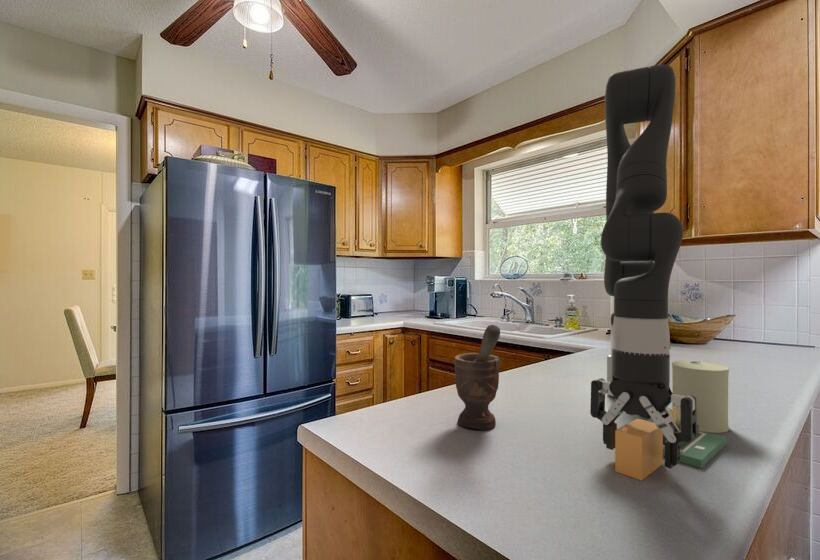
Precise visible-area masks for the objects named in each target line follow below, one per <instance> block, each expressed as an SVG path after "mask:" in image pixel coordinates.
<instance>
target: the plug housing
mask: <svg viewBox="0 0 820 560" xmlns="http://www.w3.org/2000/svg"><path fill="white" fill-rule="evenodd" d="M614 449H615V453H614V454H615V457H614V458H615V459H614V461H615V462H614V464H615V465H614V466H615V469H614V471H615V472H617V473H619V474H622V475H624V476H628V477H631V478H632V479H636V480H638V481H639V480H640V481H643V480H645V478H647V477H649V476H650V475H651V474H652V473H654V472H655V471H656V470H657V469H658V468H659V467H661V466H662V465H663V464H664V463H663V461H664V460H663V459H664V457H663V432H662V431H661V429H660V428H658V427H657V426H656V424H655V423H653V422H649V421H647V420H646V419H645V420H644V419H641V418H636V419H634V420H633V421H630V422H628V423H626V424H625V425H623V426H621V427H619V428H617V430H615V448H614Z"/></svg>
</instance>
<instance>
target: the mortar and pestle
mask: <svg viewBox="0 0 820 560" xmlns="http://www.w3.org/2000/svg"><path fill="white" fill-rule="evenodd" d="M500 336H501V329H500V327H499V326H497V325H494V324H489V325H488V326H487V327H486V328H485V329H484V333H483V335H482V339H481V343H480V348H479V351H478V352H469V353H467V352H466V353H459V354H457V355H455V357H454V381H455V388H456V391H457V396H458V397H459V399H460V400H461V401H462V403H464V408H463V410H462V411H461V412H460V413H459V415H458V418H457V422H456V423H457V424H458V425H459V426H461V427H463V428H467V429H472V430H473V429H474V430H480V431H481V430H482V431H488V430H492V429H494V428H495V427H496V424H497V423H496V422H497V420H496V417H495V414H494V413H492V412H491V411H490V410H489V405H490V404H491V402H492V401H494V400H495V399H496V395H497V392H498V390H499V383H500V382H499V381H500V376H499V375H500V373H499V372H500V364H501V363H500V360H501V359H500V357H499V356H498V355H493V354H492V352H493V350H494V349H495V346H496V345H497V343H498V341H499V339H500Z"/></svg>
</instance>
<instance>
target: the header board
mask: <svg viewBox="0 0 820 560" xmlns="http://www.w3.org/2000/svg"><path fill="white" fill-rule="evenodd" d="M668 411H669V413H670V414H671V416H672V417H673V419H674V423H675V424H676V426H677V427H678V429H679V430H681V421H680V411H678V410H677V408H676V407H673V409H672V408H670V409H668ZM646 421H649V422H653V423H654V421H653V420H652V418H650V419H646ZM666 440H667V438H666V437H665V435H664V434H663V458H665V441H666ZM726 445H727V436H722V435H718V434H716V433H709V432H703V431H699V425H697V437H696V438H694V439H692V441H690V442H681V443H680V462H679V463H682V464H687V465H690V466H694V467H696V468H700V469H702V468H703V467H704V466H705V465H707V464H708V463H709V461H711V459H713V458H714V457H715V456H716V455H717V454H718V453H719V452H720V451H721V450H722V449H723V448H724V447H725V446H726Z"/></svg>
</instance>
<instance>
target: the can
mask: <svg viewBox="0 0 820 560" xmlns="http://www.w3.org/2000/svg"><path fill="white" fill-rule="evenodd" d="M671 366H672V367H671V368H672V370H671V371H672V372H671V373H672V375H671V376H672V393H673V394H676V395H682V396H688V395H693V396H694V397H695V398H696V405H697V425H699V431H703V432H707V433H711V434H720V433H726V432H728V431H730V426H729V372H730V368H729V367H727V366H725V365H722V364H717V363H711V362H707V361H706V362H705V361H700V360H699V361H698V360H697V361H693V360H678V361H677V360H676V361H675V360H674V361H672V362H671ZM671 403H672V405H671V406H672V407H671V409H673V407H676V405H675V404H674V403H673V402H671ZM680 421H681V412H680Z"/></svg>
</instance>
